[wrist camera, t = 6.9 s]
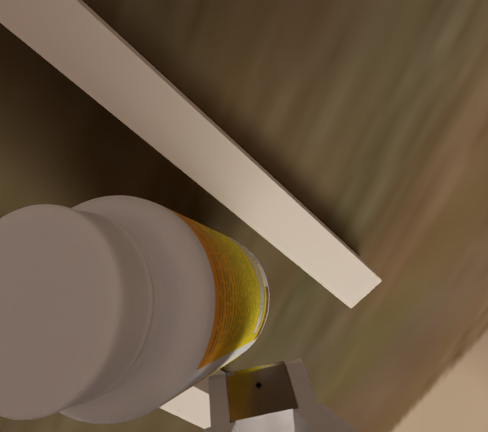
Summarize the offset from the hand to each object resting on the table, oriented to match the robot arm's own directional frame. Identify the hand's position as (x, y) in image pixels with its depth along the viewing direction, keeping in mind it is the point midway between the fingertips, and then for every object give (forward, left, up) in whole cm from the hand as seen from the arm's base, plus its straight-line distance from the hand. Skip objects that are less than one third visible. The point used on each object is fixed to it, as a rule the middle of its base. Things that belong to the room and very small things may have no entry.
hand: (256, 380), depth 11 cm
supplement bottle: (-1, 0, -6) cm, 6 cm away
